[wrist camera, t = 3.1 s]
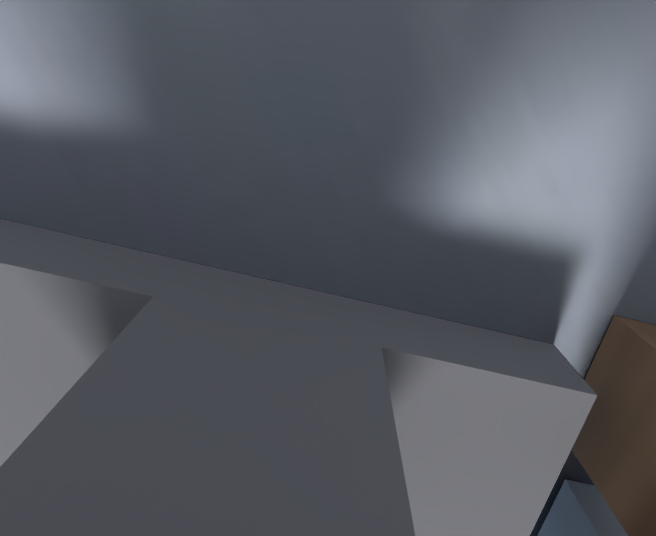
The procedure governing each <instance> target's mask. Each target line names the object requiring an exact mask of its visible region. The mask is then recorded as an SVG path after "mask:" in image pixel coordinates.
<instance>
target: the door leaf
mask: <svg viewBox="0 0 656 536" xmlns="http://www.w3.org/2000/svg"><path fill="white" fill-rule="evenodd" d="M538 536H628V535H627V533H626V532H625V530H624V529H623V527H622V526H621V524H620V523H619V521H618V520H617V518H616V517H615V515H614V514H613V512H612V511H611V509H610V508H609V506H608V505H607V503H606V502H605V500H604V499H603V497H602V495H601V494H600V492H599V491H598V489H597V488H596V486H594V485H590V484H585V483H580V482H575V481H571V480H566V479H565V480H564V482H563V485H562V487H561V489H560V491H559V493H558V495H557V497H556V499H555V501H554V503H553V505H552V507H551V509H550V511H549V513H548V515H547V517H546V519H545V521H544V523H543V525H542V528H541V530H540V532H539V534H538Z"/></svg>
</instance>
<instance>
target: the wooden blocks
mask: <svg viewBox="0 0 656 536" xmlns="http://www.w3.org/2000/svg"><path fill="white" fill-rule="evenodd" d="M584 380H585V381H586V383H587V384H588V385H589V386H590V387H591V388H592V389H593V391H594V392H595V393H596V394H597V397H596V400H595V402H594V404H593V406H592V408H591V410H590V412H589V414H588V416H587V418H586V420H585V422H584V424H583V426H582V429H581V431H580V433H579V435H578V437H577V439H576V441H575V443H574V445H573V447H572V449H571V450H572V452H573V453H574V455H575V456H576V458H577V459H578V461H579V462H580V464H581V465H582V467H583V468H584V470H585V471H586V473H587V474H588V476H589V477H590V479H591V480H592V482H593V483H594V485H595V486H596V488H597V489H598V491H599V492H600V494H601V495H602V497H603V499H604V500H605V502H606V503H607V505H608V506H609V508H610V509H611V511H612V512H613V514H614V515H615V517H616V518H617V520H618V521H619V523H620V524H621V526H622V527H623V529H624V530H625V532H626V533H627V535H628V536H656V325H653V324H649V323H644V322H640V321H636V320H632V319H627V318H623V317H619V316H614V317H613V319H612V321H611V323H610V325H609V327H608V329H607V332H606V334H605V336H604V338H603V340H602V342H601V344H600V347H599V349H598V351H597V353H596V355H595V357H594V359H593V362H592V364H591V366H590V368H589V370H588V372H587V375H586V377H585V379H584Z"/></svg>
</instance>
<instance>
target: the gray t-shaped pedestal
mask: <svg viewBox="0 0 656 536" xmlns="http://www.w3.org/2000/svg"><path fill="white" fill-rule="evenodd" d="M596 397H597V394H596V393H595V392H594V391H593V389H592V388H591V387H590V386H589V385H588V384H587V383H586V381H585V380H584V379H583V378H582V377H581V376H580V374H579V373H578V372H577V371H576V370H575V369H574V367H573V366H572V365H571V364H570V363H569V362H568V361H567V359H566V358H565V357H564V356H563V355H562V354H561V352H560V351H559V350H558V349H557V348H556V347H555V346H554V344H550V343H545V342H541V341H536V340H532V339H528V338H523V337H519V336H514V335H510V334H506V333H501V332H497V331H492V330H488V329H483V328H479V327H475V326H470V325H466V324H461V323H457V322H453V321H448V320H444V319H439V318H435V317H431V316H426V315H422V314H417V313H413V312H409V311H404V310H400V309H395V308H391V307H387V306H382V305H378V304H373V303H369V302H365V301H360V300H356V299H351V298H347V297H343V296H338V295H334V294H329V293H325V292H321V291H316V290H312V289H307V288H303V287H299V286H294V285H290V284H285V283H281V282H277V281H272V280H268V279H263V278H259V277H255V276H250V275H246V274H241V273H237V272H233V271H228V270H224V269H219V268H215V267H211V266H206V265H202V264H197V263H193V262H189V261H184V260H180V259H175V258H171V257H167V256H162V255H158V254H153V253H149V252H145V251H140V250H136V249H131V248H127V247H122V246H118V245H114V244H109V243H105V242H100V241H96V240H92V239H87V238H83V237H78V236H74V235H70V234H65V233H61V232H56V231H52V230H48V229H43V228H39V227H34V226H30V225H26V224H21V223H17V222H12V221H8V220H4V219H0V536H530V534H531V532H532V530H533V528H534V526H535V524H536V522H537V520H538V518H539V516H540V514H541V511H542V509H543V507H544V505H545V503H546V501H547V499H548V497H549V495H550V493H551V491H552V489H553V487H554V485H555V482H556V480H557V478H558V476H559V474H560V472H561V470H562V468H563V466H564V464H565V462H566V460H567V458H568V456H569V453H570V451H571V449H572V447H573V445H574V443H575V441H576V439H577V437H578V435H579V433H580V431H581V429H582V426H583V424H584V422H585V420H586V418H587V416H588V414H589V412H590V410H591V408H592V406H593V404H594V402H595V400H596Z"/></svg>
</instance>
